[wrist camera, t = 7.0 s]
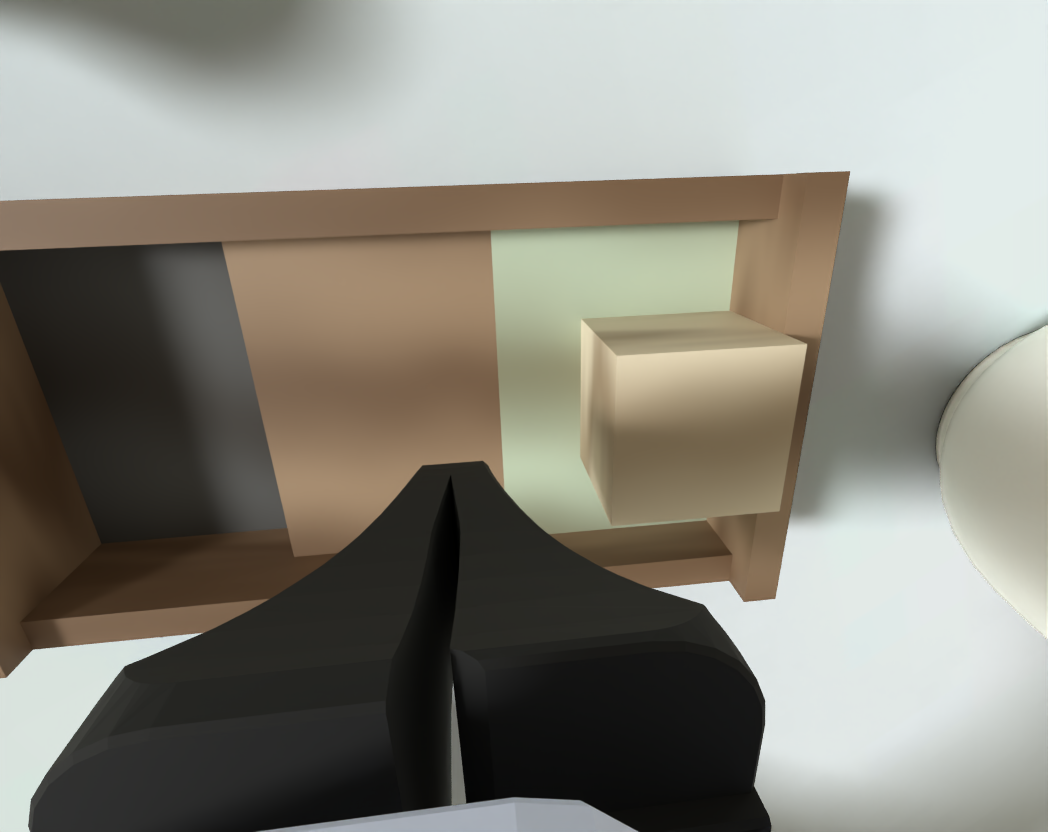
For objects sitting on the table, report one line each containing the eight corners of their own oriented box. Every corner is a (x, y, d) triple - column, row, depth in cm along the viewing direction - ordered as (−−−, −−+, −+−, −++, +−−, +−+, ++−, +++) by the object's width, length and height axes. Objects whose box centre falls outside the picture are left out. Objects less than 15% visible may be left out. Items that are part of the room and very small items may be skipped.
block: (714, 446, 18) (779, 511, 14) (580, 457, 18) (611, 526, 14) (729, 310, 16) (807, 344, 13) (581, 318, 16) (617, 355, 12)
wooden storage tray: (707, 511, 21) (775, 598, 17) (83, 566, 19) (-34, 681, 15) (744, 178, 17) (850, 171, 12) (-64, 205, 15) (-298, 210, 10)
